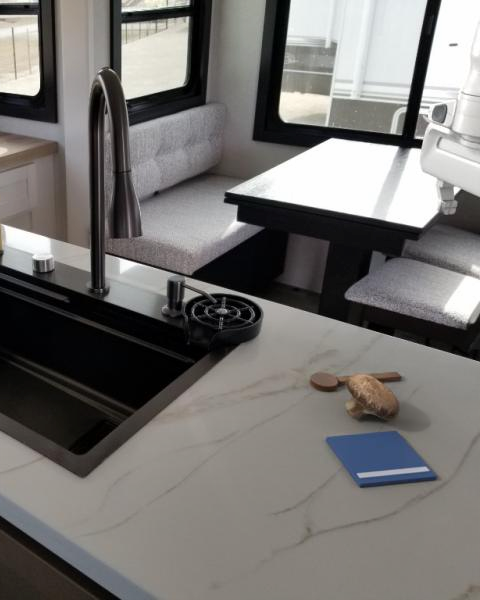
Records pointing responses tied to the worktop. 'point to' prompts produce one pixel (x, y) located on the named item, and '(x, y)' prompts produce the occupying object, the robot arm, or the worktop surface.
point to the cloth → (379, 459)
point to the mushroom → (370, 398)
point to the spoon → (331, 382)
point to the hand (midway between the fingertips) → (468, 224)
